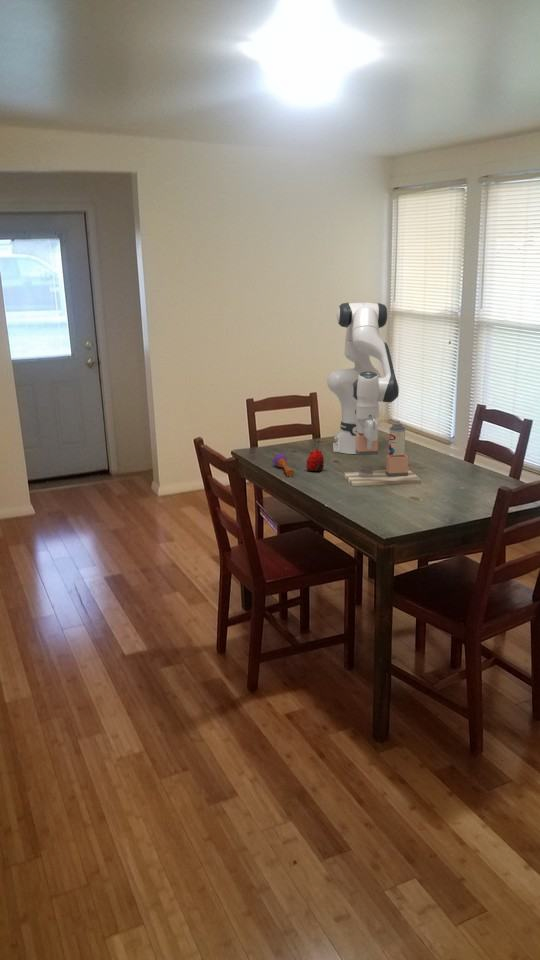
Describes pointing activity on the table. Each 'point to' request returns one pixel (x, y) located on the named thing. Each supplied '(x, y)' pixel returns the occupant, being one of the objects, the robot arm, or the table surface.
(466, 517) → the table surface
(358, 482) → the wooden slatted tray
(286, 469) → the kendama
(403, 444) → the aerosol can
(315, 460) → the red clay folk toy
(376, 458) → the table surface
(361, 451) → the sleeve
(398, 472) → the seated sleeve
